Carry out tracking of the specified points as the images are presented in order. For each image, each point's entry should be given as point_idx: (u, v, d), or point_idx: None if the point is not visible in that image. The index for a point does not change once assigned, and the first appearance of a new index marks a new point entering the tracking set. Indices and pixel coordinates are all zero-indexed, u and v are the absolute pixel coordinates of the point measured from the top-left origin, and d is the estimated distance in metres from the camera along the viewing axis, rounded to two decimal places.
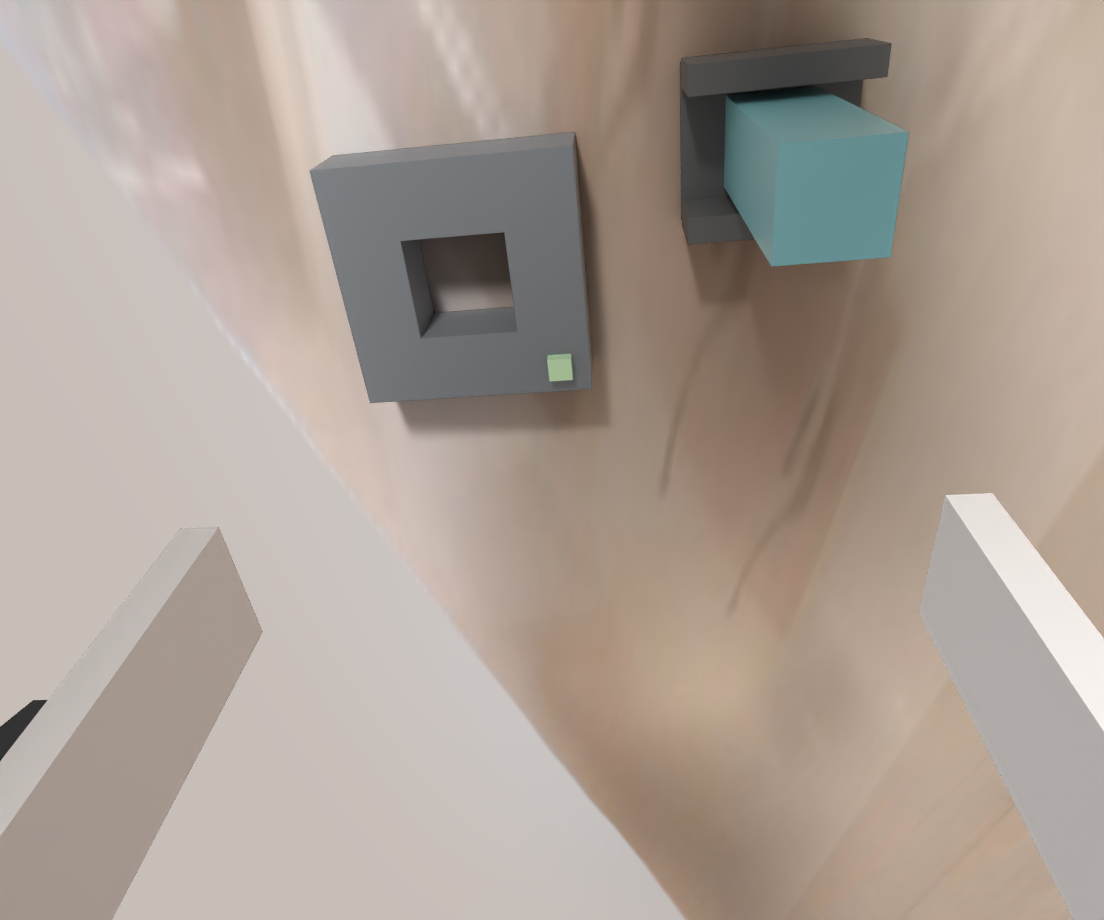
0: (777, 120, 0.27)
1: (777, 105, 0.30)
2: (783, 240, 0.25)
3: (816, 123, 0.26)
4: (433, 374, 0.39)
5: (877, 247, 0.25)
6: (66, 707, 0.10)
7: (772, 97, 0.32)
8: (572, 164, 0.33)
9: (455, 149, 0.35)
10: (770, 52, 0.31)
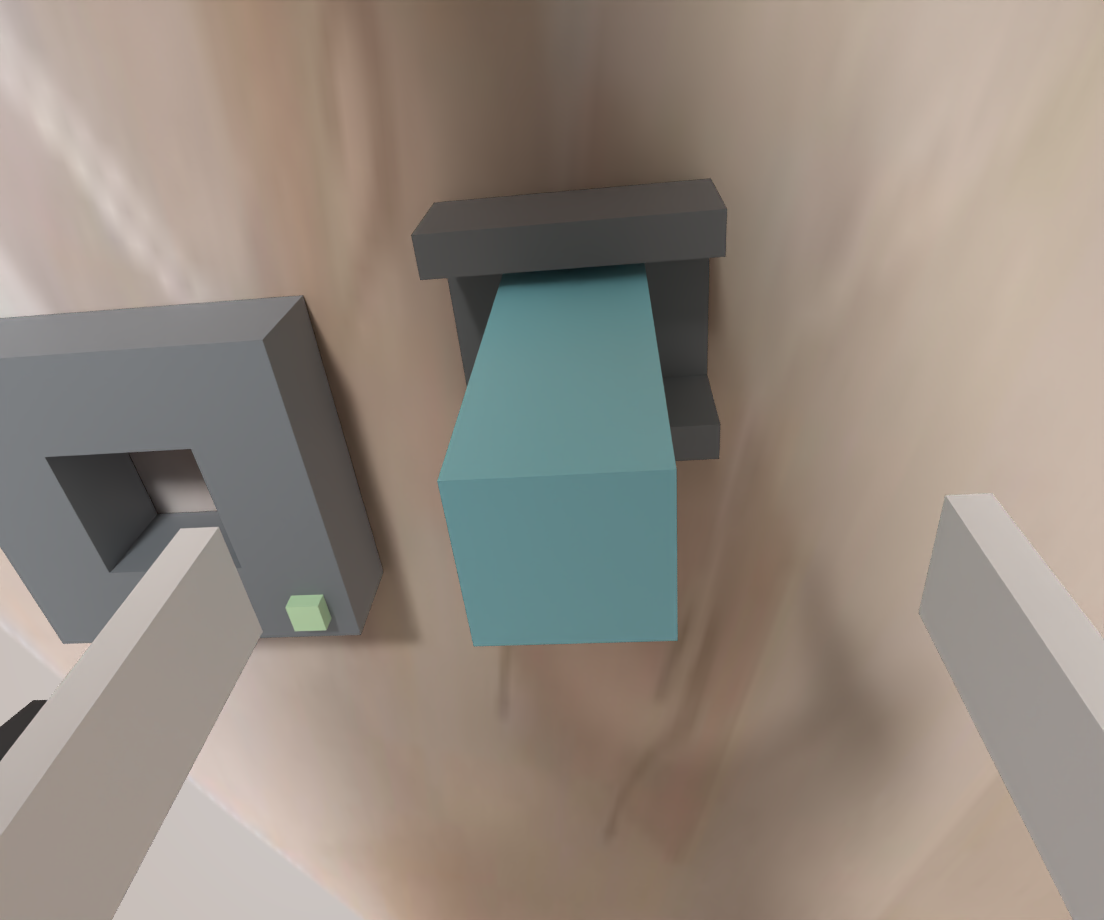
0: (509, 365, 0.16)
1: (548, 303, 0.19)
2: (485, 613, 0.14)
3: (556, 391, 0.15)
4: None
5: (651, 627, 0.14)
6: (66, 707, 0.10)
7: (561, 272, 0.21)
8: (268, 364, 0.22)
9: (116, 327, 0.23)
10: (551, 208, 0.20)
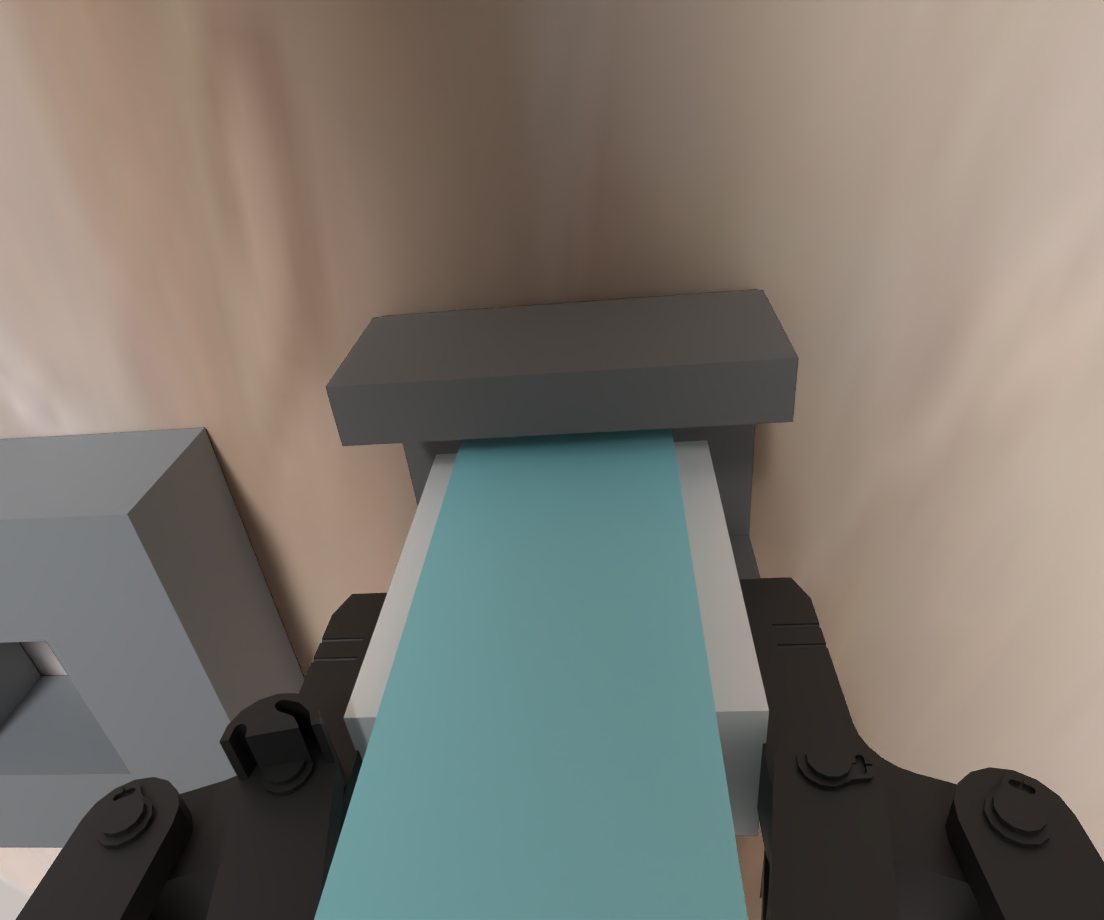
0: (456, 646, 0.10)
1: (528, 494, 0.13)
2: None
3: (530, 729, 0.09)
4: (6, 819, 0.22)
5: None
6: (411, 590, 0.12)
7: None
8: (139, 544, 0.16)
9: None
10: (534, 340, 0.14)
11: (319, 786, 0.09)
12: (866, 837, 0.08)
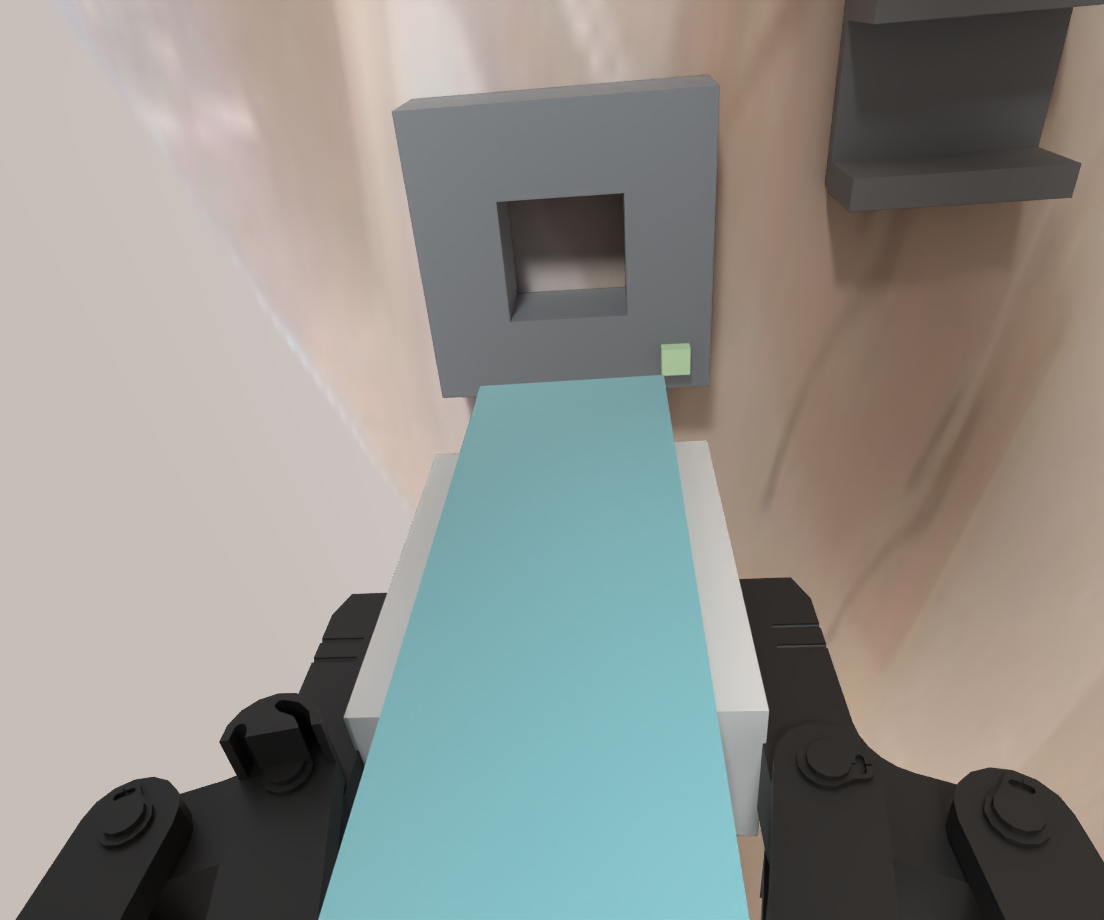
0: (458, 649, 0.10)
1: (529, 496, 0.13)
2: None
3: (532, 732, 0.09)
4: (521, 365, 0.33)
5: None
6: (410, 590, 0.12)
7: (551, 427, 0.14)
8: (717, 109, 0.27)
9: (567, 91, 0.29)
10: None
11: (319, 786, 0.09)
12: (866, 837, 0.08)
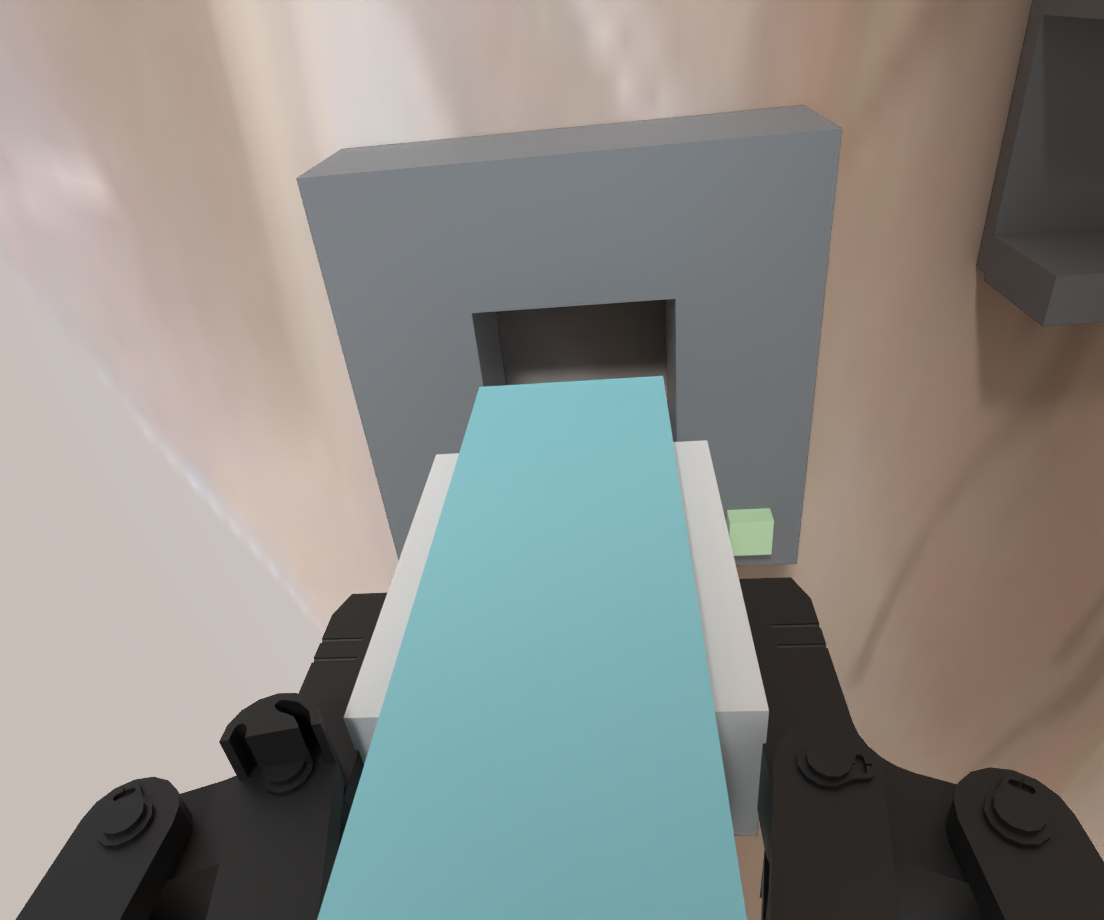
0: (457, 650, 0.10)
1: (528, 497, 0.13)
2: None
3: (531, 733, 0.09)
4: None
5: None
6: (410, 590, 0.12)
7: (550, 428, 0.15)
8: (835, 167, 0.16)
9: (582, 137, 0.18)
10: None
11: (319, 786, 0.09)
12: (866, 837, 0.08)
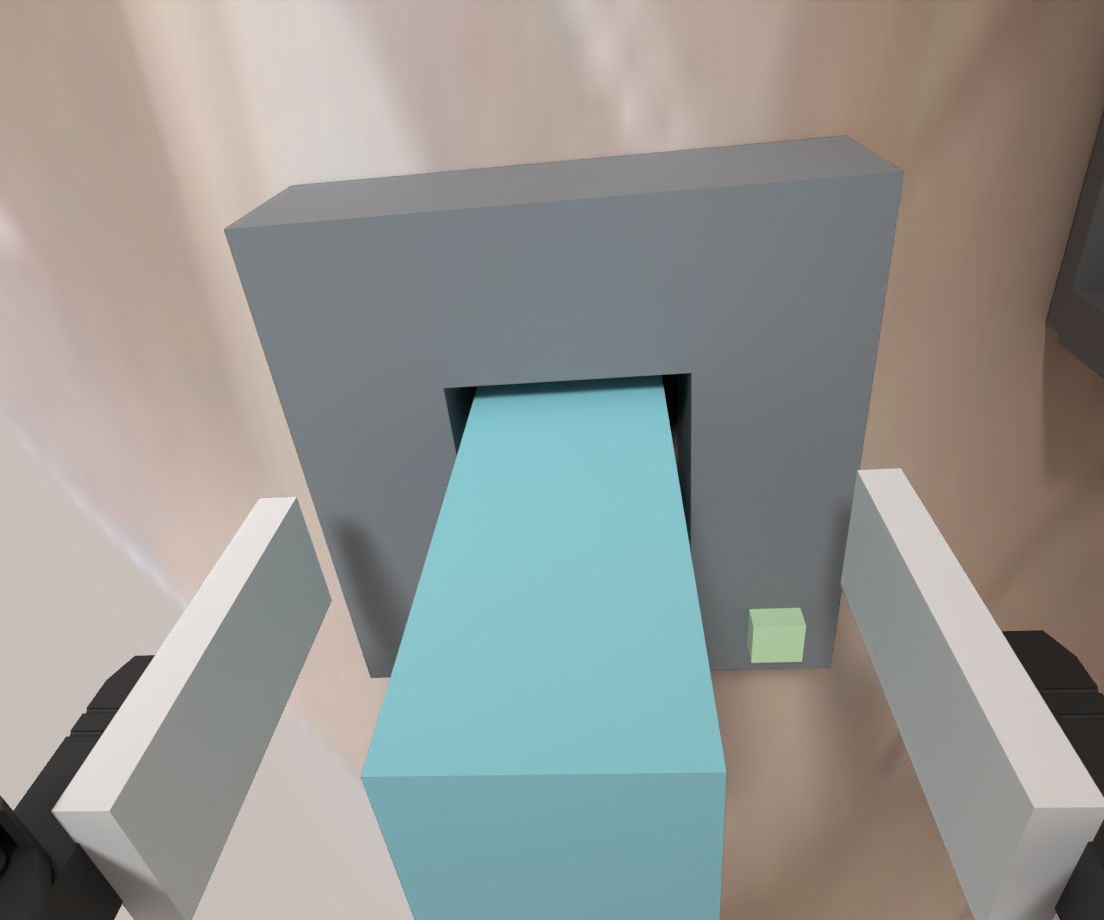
0: (481, 534, 0.12)
1: (537, 424, 0.15)
2: None
3: (544, 588, 0.11)
4: None
5: None
6: (176, 658, 0.11)
7: None
8: (893, 219, 0.13)
9: (577, 176, 0.15)
10: None
11: (16, 877, 0.08)
12: None
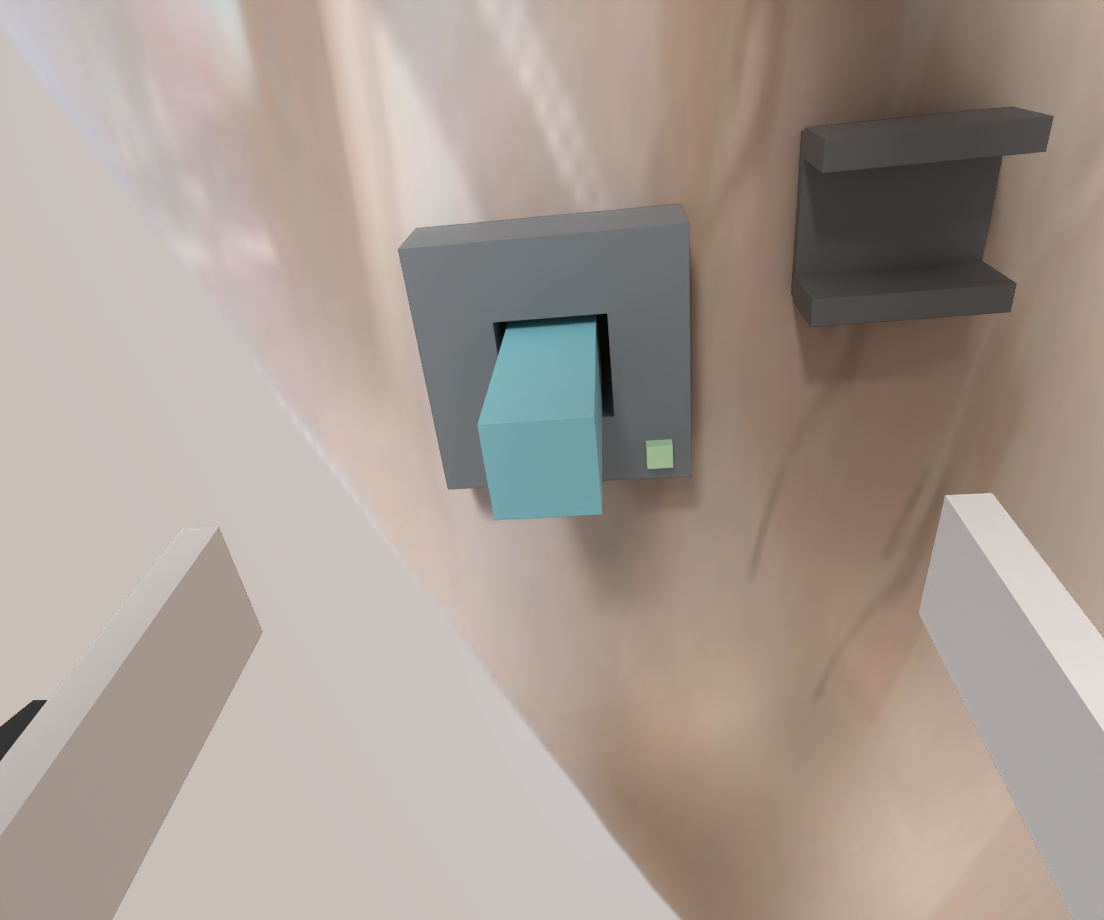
0: (513, 371, 0.29)
1: (536, 337, 0.32)
2: (500, 499, 0.27)
3: (538, 383, 0.28)
4: None
5: (587, 506, 0.27)
6: (66, 707, 0.10)
7: None
8: (687, 242, 0.30)
9: (554, 224, 0.32)
10: (911, 123, 0.29)
11: None
12: None
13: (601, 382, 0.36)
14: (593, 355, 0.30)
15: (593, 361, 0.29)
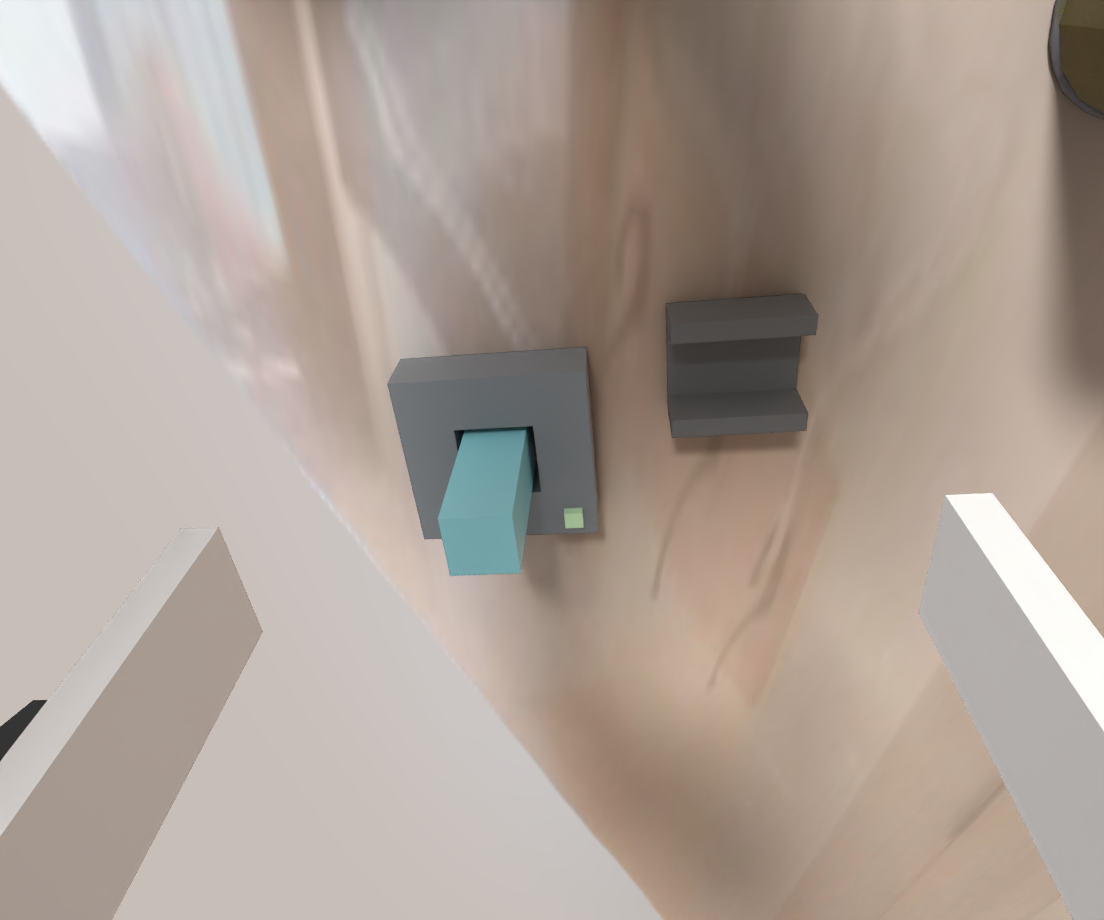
0: (464, 473, 0.43)
1: (483, 442, 0.46)
2: (454, 563, 0.41)
3: (480, 485, 0.42)
4: None
5: (511, 568, 0.41)
6: (66, 707, 0.10)
7: None
8: (585, 383, 0.44)
9: (496, 363, 0.46)
10: (731, 310, 0.43)
11: None
12: None
13: (534, 465, 0.50)
14: (519, 461, 0.44)
15: (518, 467, 0.43)
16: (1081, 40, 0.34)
